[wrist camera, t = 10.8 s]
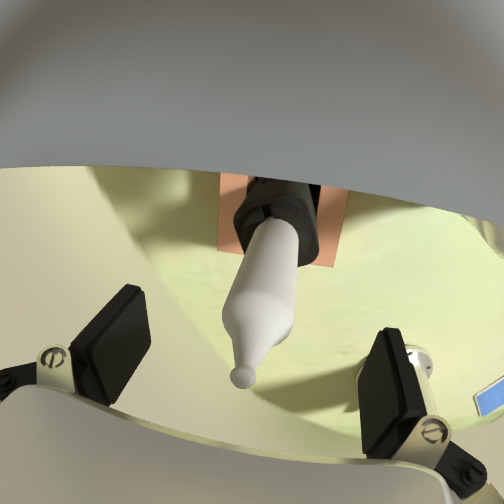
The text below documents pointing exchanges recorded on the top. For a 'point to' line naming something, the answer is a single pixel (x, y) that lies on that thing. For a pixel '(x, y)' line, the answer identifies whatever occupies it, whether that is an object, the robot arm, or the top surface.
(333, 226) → the socket block
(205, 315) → the top surface
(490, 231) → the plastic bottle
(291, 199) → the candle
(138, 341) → the robot arm
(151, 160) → the brown board grey top
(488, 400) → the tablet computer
